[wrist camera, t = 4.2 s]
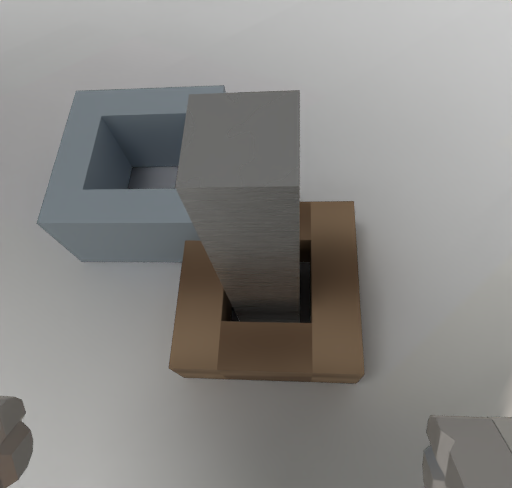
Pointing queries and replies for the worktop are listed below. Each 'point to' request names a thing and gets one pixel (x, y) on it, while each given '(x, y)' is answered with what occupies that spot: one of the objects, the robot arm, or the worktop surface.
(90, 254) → the block
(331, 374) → the socket block
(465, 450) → the robot arm
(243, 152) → the tall brushed metal pillar
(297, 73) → the worktop surface
